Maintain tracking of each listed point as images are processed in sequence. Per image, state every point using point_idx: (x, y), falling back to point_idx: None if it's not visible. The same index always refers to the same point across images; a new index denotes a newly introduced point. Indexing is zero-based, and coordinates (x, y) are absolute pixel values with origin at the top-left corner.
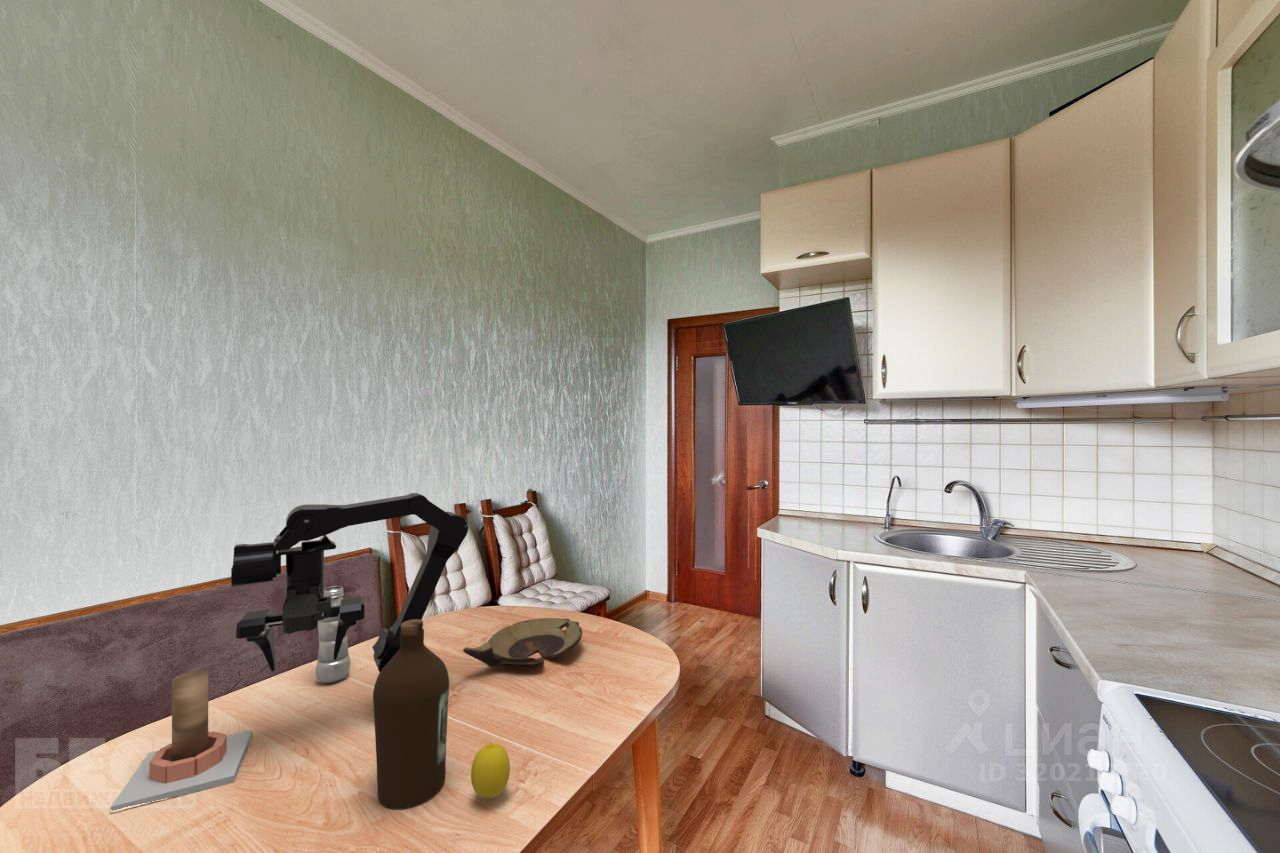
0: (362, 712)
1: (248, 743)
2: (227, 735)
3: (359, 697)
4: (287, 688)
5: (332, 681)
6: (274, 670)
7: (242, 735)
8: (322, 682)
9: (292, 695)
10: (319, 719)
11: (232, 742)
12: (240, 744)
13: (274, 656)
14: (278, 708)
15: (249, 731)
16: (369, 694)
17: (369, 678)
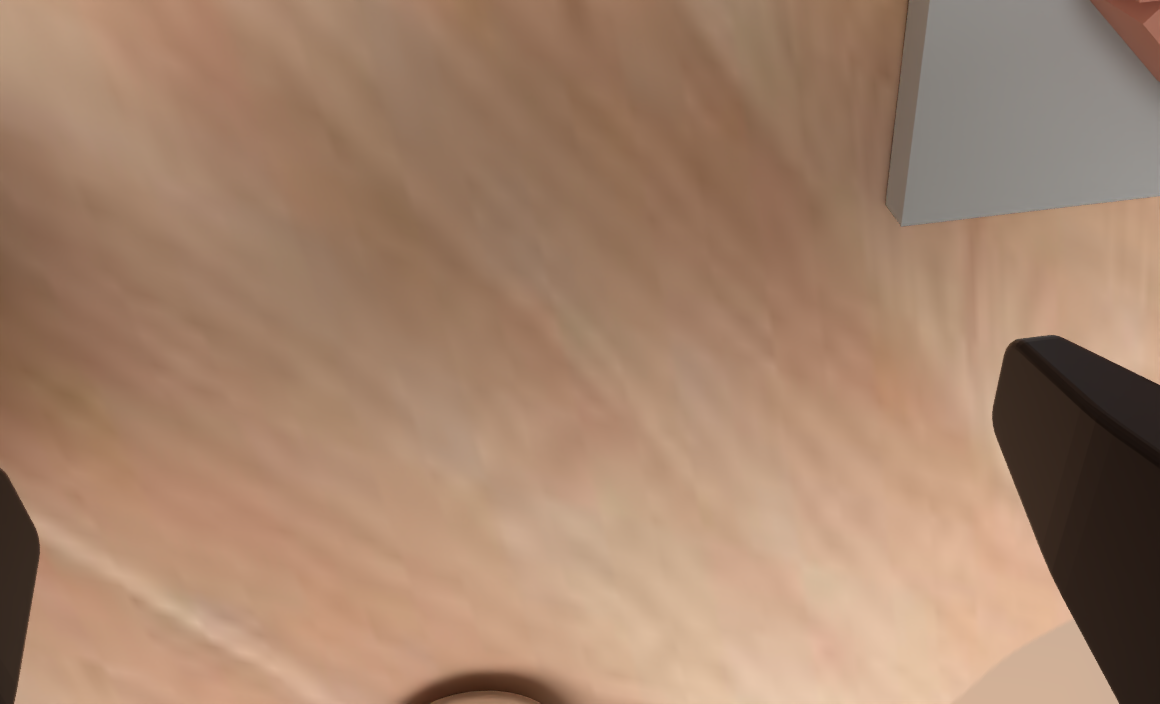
0: (88, 260)
1: (907, 66)
2: (1060, 202)
3: (207, 486)
4: (735, 696)
5: (464, 696)
6: (1011, 348)
7: (963, 162)
8: (529, 699)
9: (693, 620)
10: (433, 266)
11: (1029, 75)
12: (972, 18)
13: (1132, 586)
14: (756, 499)
15: (919, 206)
16: (139, 506)
17: (225, 696)
